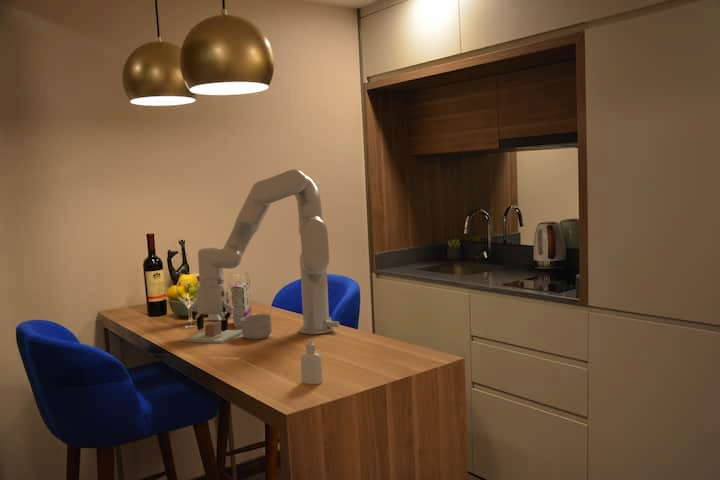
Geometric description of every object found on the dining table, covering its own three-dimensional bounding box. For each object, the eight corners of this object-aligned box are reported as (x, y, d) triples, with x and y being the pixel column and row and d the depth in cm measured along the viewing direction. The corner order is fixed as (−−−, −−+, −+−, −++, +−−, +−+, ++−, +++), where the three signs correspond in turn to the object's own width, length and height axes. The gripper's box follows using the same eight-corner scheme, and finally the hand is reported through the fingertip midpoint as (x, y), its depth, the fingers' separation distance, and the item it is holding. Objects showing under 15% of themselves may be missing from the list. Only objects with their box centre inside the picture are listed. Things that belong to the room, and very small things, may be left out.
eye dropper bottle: (312, 378, 178) (310, 336, 177) (324, 382, 173) (322, 339, 172) (299, 382, 175) (297, 339, 174) (311, 386, 171) (309, 342, 170)
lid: (242, 332, 233) (241, 319, 233) (221, 343, 219) (220, 329, 219) (206, 331, 238) (205, 318, 237) (183, 341, 224) (182, 327, 223)
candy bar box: (239, 323, 253) (236, 282, 251) (251, 322, 253) (249, 281, 251) (233, 329, 242) (230, 287, 240) (246, 329, 241) (243, 286, 240)
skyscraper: (221, 322, 255) (217, 253, 253) (204, 321, 258) (199, 253, 255) (231, 317, 263) (228, 250, 261) (214, 317, 266) (210, 250, 263)
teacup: (262, 343, 219) (261, 320, 218) (235, 341, 223) (234, 319, 222) (281, 333, 232) (280, 312, 231) (255, 332, 236) (254, 311, 235)
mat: (246, 333, 234) (246, 332, 234) (222, 345, 218) (222, 344, 218) (205, 332, 239) (205, 330, 239) (179, 343, 223) (179, 341, 223)
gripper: (237, 281, 227) (239, 328, 229) (194, 280, 233) (197, 326, 234) (226, 285, 220) (228, 333, 222) (183, 283, 226) (185, 331, 227)
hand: (212, 329), depth 228 cm, fingers open, 9 cm apart
